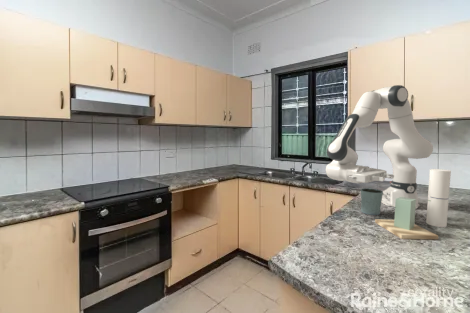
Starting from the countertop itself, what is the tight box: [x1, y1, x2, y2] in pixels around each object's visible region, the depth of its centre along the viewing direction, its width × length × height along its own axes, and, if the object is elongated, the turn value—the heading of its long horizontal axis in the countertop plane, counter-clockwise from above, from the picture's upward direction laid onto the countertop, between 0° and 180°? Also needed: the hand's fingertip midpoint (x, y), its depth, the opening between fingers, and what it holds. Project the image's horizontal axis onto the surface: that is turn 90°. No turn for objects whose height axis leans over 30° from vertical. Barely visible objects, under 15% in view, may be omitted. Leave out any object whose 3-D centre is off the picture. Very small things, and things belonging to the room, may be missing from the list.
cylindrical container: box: [425, 168, 452, 228], centre depth 107 cm, size 7×7×25 cm
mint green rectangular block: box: [393, 197, 416, 230], centre depth 100 cm, size 6×6×12 cm
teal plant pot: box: [360, 187, 384, 216], centre depth 124 cm, size 10×10×12 cm
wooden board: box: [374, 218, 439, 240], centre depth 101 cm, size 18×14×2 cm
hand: (388, 177), depth 105 cm, fingers open, 8 cm apart
